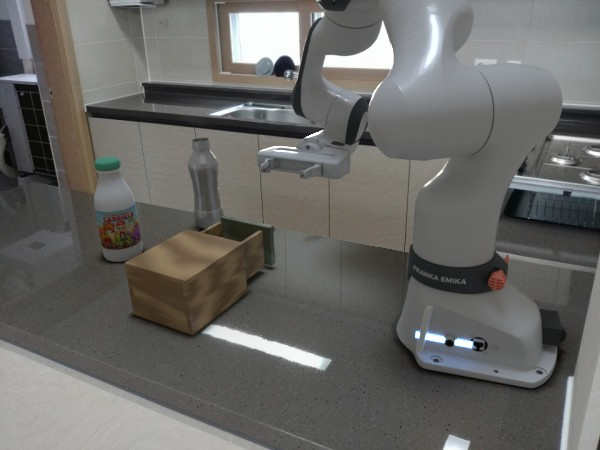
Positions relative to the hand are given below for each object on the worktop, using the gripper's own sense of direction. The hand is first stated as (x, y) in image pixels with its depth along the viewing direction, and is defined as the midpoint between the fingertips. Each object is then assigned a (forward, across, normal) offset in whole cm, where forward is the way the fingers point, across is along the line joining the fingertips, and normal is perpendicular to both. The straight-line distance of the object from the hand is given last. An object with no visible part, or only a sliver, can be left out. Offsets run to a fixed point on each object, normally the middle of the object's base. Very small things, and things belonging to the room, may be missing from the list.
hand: (282, 172), depth 109 cm
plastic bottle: (+3, -18, +15) cm, 24 cm away
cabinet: (+30, 0, +15) cm, 33 cm away
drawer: (+17, 0, +14) cm, 22 cm away
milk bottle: (+22, -25, +15) cm, 37 cm away
